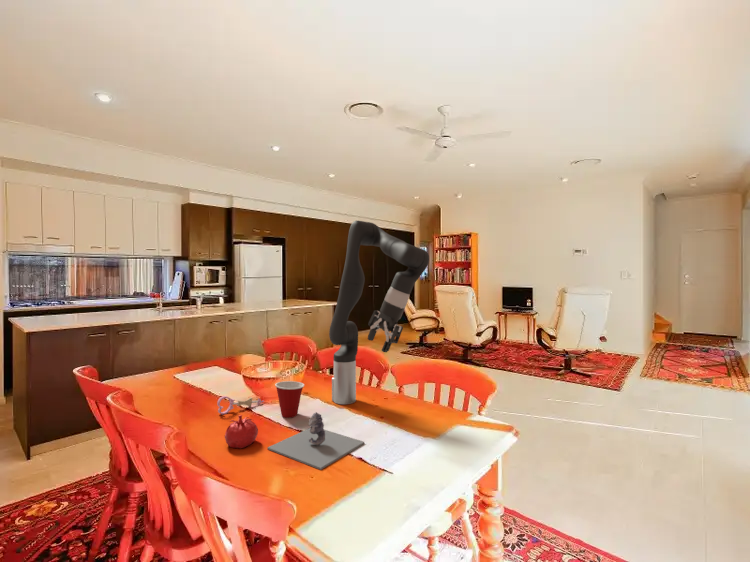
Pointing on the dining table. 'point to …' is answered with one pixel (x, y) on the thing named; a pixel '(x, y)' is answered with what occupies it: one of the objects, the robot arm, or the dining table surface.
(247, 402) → the decorative key
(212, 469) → the dining table surface
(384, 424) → the dining table surface
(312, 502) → the dining table surface
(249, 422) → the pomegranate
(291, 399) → the plastic cup
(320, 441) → the grey tall lumpy piece
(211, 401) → the dining table surface
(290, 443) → the mat
